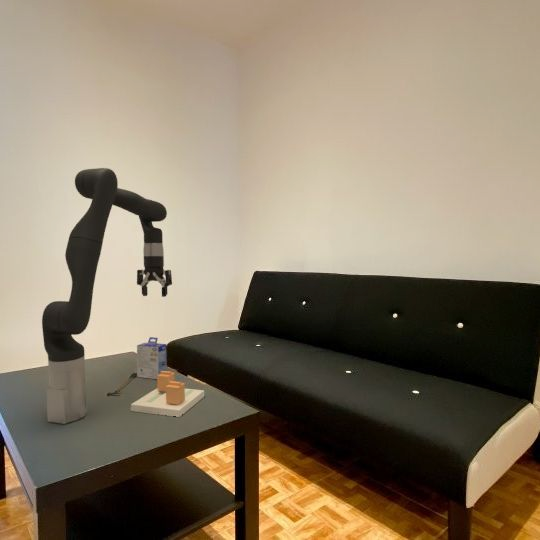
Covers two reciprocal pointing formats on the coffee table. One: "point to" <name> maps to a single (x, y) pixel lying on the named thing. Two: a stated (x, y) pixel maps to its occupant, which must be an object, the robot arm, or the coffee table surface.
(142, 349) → the ink cartridge box
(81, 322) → the robot arm
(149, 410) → the switch bank
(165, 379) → the tab
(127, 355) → the coffee table surface
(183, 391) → the tab
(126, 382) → the tactical tomahawk
